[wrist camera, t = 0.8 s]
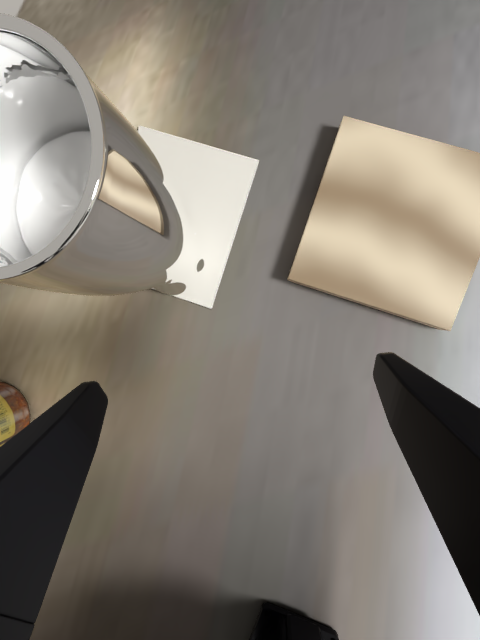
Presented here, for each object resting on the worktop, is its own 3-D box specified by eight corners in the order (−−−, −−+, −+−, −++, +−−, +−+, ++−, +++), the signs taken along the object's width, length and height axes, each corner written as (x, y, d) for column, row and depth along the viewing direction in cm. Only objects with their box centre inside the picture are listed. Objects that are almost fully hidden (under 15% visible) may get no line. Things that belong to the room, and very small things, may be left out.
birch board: (439, 329, 20) (450, 330, 19) (286, 280, 21) (288, 278, 20) (501, 171, 19) (517, 163, 18) (339, 127, 20) (343, 115, 19)
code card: (211, 308, 22) (211, 308, 22) (99, 270, 22) (98, 270, 22) (258, 161, 21) (258, 160, 21) (140, 127, 22) (139, 125, 21)
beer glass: (198, 314, 22) (52, 332, 7) (122, 280, 22) (-174, 227, 7) (232, 233, 21) (154, 56, 6) (153, 200, 22) (-99, -39, 7)
